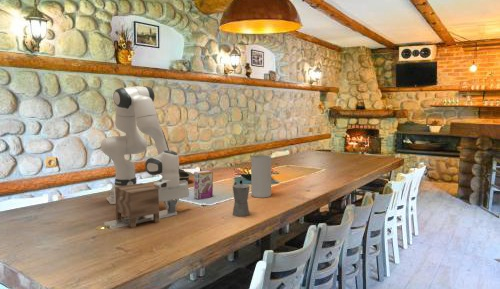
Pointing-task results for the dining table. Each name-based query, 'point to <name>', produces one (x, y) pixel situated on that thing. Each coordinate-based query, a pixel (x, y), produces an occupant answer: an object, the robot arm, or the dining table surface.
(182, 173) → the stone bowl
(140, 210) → the walnut cabinet
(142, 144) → the robot arm
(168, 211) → the grey long bar
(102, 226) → the brass token
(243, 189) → the coffeepot
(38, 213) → the dining table surface
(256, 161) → the cylinder vase
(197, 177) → the candy bar box
